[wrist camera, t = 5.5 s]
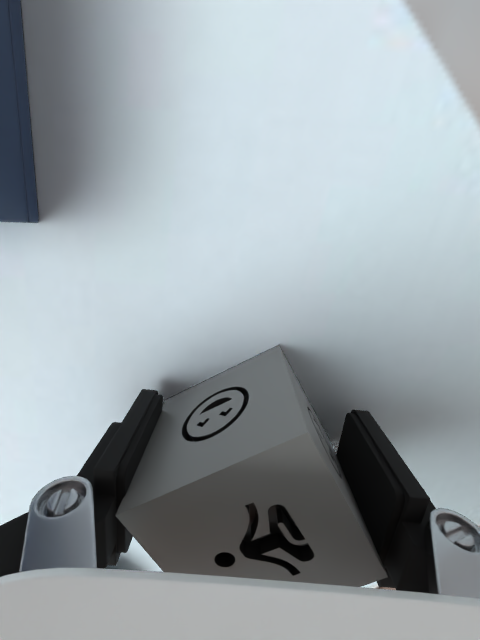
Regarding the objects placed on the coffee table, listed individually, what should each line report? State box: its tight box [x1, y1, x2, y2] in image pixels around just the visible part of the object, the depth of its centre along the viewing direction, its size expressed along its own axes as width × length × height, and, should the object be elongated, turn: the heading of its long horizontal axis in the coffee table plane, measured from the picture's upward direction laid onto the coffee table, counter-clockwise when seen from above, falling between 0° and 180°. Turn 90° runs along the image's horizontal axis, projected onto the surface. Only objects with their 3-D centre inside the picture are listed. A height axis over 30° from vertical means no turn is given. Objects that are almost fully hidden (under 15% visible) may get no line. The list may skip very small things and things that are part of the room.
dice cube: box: [115, 345, 388, 587], centre depth 10 cm, size 5×5×5 cm
